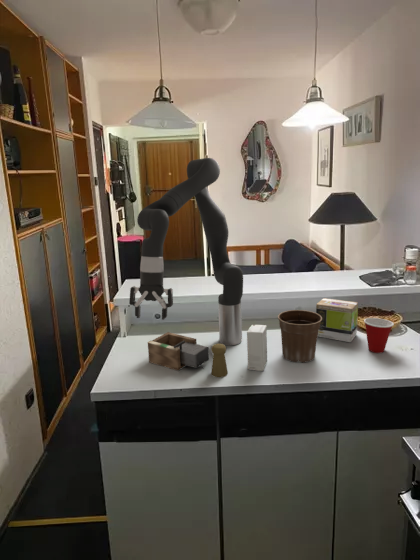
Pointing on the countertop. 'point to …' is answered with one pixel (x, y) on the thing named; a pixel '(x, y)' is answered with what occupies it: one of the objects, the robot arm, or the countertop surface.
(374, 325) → the plastic cup
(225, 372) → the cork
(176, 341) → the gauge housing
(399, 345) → the countertop surface
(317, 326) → the plant pot
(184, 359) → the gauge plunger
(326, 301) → the tea box
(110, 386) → the countertop surface
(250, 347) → the skincare box
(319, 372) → the countertop surface
